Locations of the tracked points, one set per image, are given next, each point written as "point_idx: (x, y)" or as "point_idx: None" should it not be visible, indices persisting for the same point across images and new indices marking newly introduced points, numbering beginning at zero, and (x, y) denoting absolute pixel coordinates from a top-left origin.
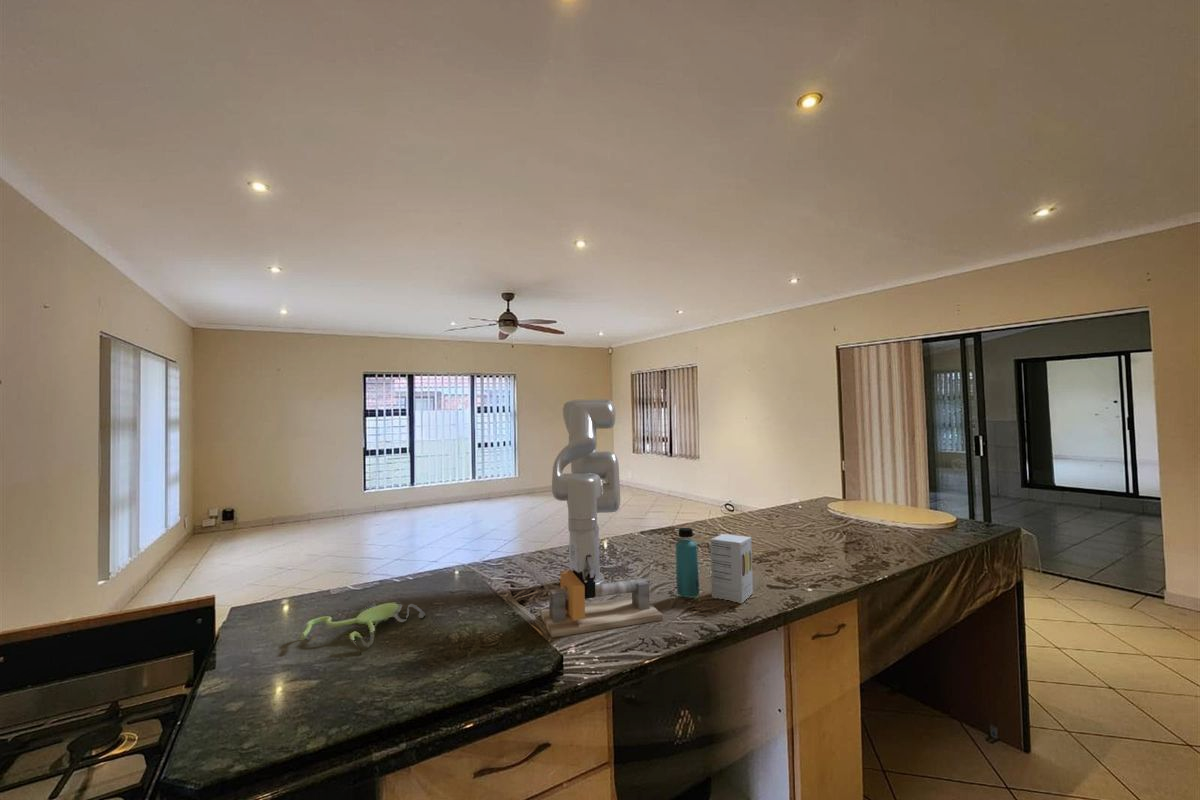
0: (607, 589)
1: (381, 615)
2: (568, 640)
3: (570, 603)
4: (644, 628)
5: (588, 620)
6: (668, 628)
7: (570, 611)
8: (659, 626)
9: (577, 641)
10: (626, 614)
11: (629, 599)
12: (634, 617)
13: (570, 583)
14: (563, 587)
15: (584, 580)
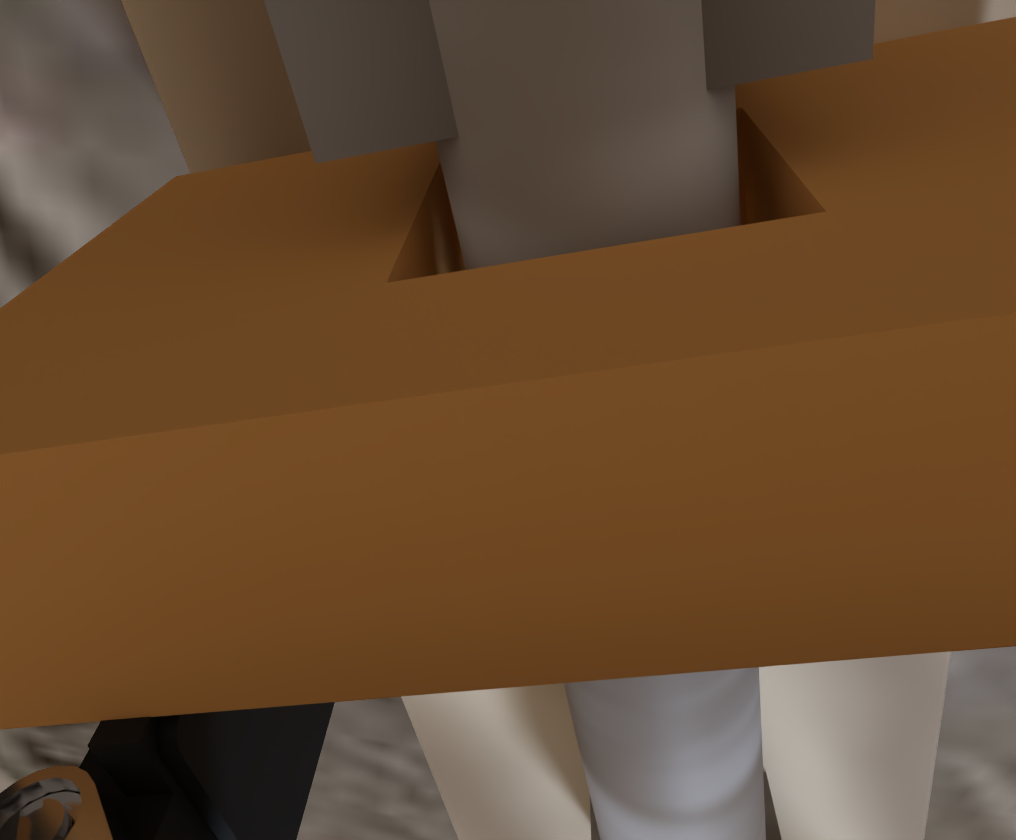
0: (597, 809)
1: None
2: (41, 49)
3: (253, 221)
4: (343, 717)
5: None
6: (334, 822)
7: (298, 172)
8: (371, 792)
9: (32, 161)
10: (510, 693)
11: (873, 773)
12: (433, 727)
13: (70, 457)
14: (930, 149)
15: (39, 826)
